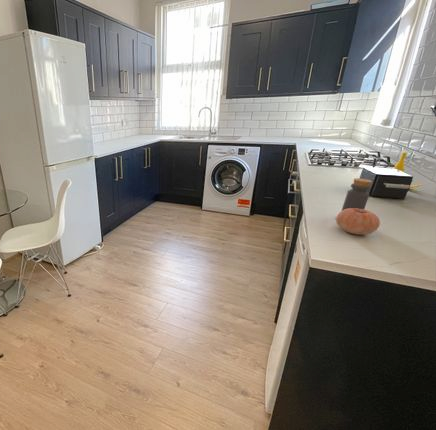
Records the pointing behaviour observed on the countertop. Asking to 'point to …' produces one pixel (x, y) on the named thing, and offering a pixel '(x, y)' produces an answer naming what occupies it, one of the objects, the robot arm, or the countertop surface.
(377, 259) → the countertop surface
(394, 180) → the drawer
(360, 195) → the bottle
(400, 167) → the banana peel
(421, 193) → the countertop surface
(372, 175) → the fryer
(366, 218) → the orange pumpkin
